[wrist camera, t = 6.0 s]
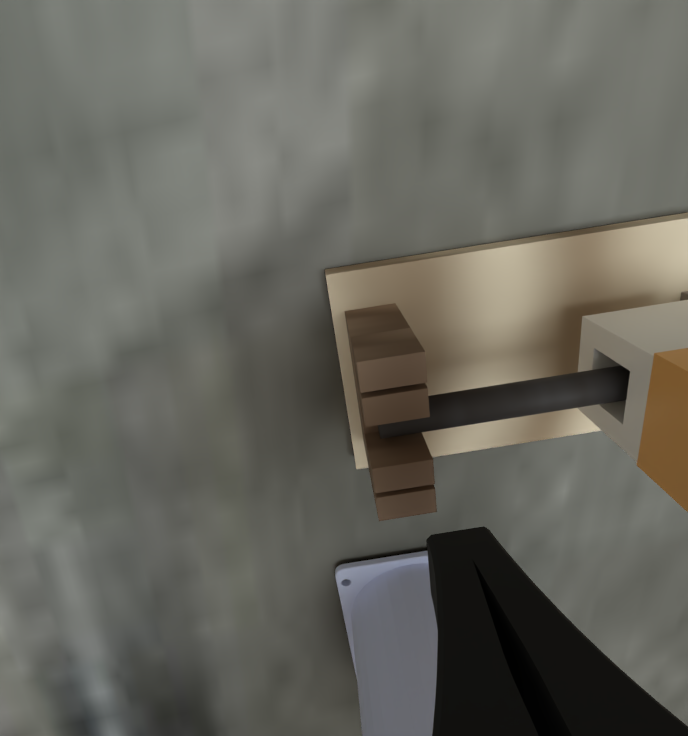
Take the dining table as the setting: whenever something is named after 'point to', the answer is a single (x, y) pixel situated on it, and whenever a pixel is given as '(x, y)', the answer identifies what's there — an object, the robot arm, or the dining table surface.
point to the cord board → (487, 344)
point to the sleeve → (645, 387)
